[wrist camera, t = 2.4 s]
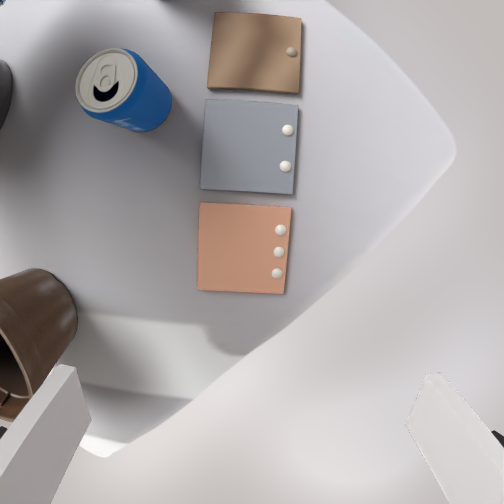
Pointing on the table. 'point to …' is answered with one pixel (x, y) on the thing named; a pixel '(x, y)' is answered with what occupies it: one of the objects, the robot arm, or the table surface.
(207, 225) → the three-dot tile
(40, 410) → the robot arm
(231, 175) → the two-dot tile
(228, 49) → the one-dot tile
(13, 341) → the plant pot
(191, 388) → the table surface
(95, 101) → the beverage can
